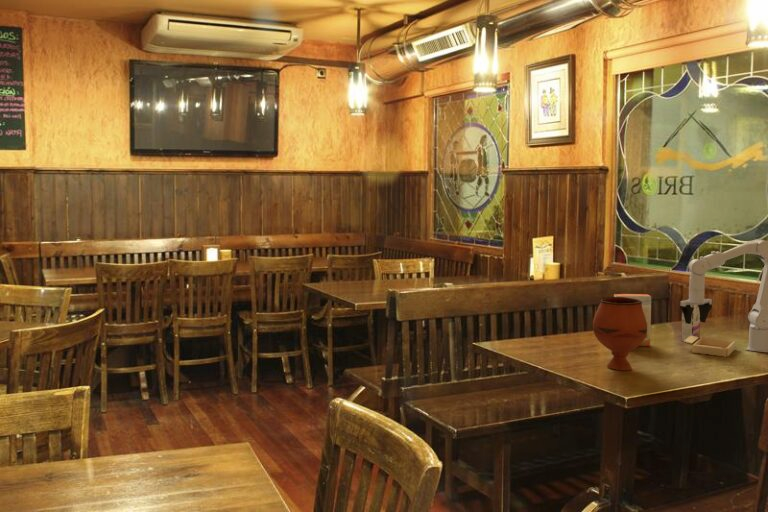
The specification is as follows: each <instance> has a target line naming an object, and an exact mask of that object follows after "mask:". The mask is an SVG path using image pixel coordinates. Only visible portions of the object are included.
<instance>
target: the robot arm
mask: <svg viewBox="0 0 768 512" xmlns="http://www.w3.org/2000/svg"><path fill="white" fill-rule="evenodd" d="M745 254H750V255H755V256H756V257H758V258H759V259H760V260H761V262H763V264H764V267H763V270H762V275H761V280H760V284H759V288H758V293H757V296H756V302H755V303H754V304H753V306H752V308H751V310H750V311H749V313H748V315H747V319H748V321H749V323H750V324H749V330H748V331H749V332H748V334H749V335H748V346H747V347H746V348H745V351H752V352H760V353H766V354H767V353H768V240H764V239H761V238H756V239H753V240H750V241H746V242H743V243H741V244H739V245H738V246H737V245H736V246H735V247H732V248H731V249H728V250H725V251H723V252H721V251H715V250H712V251H711V252H710V254H707V255H704V256H699V258H695V259H692V260H691V261H690V262H689V263H688V266H687V267H688V270H689V286H688V299H685V300H680V305H679V308H680V310H681V313H682V312H683V314H684V318H685V322H686V323H687V324H691V318H692V313H693V310H694V308H693V307H691V306H690V305H698V307H699V312H700V323H706V321H707V317H708V315H709V313H710V311H711V310H712V308H713V302H712V301H713V299H712V298H705V288H706V287H705V286H706V273H707V271H711V270H713V269H716V268H719V267H721V266H723V265H725V263H726V261H728V260H730V259H733V258H736V257H737V258H738V257H739V256H742V255H745ZM694 303H696V304H694Z"/></svg>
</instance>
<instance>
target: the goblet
mask: <svg viewBox="0 0 768 512" xmlns="http://www.w3.org/2000/svg"><path fill="white" fill-rule="evenodd" d="M592 330H593V333H594V336H595V338H596V339H597V341H598V342H599V343H600V344H602V346H603V347H605V348H606V349H608V350H610V351H611V354H612V356H613V357H612V358H611V359H610V360H609V361H608V363H607V364H606V367H609V368H608V369H610V368H612V369H611V370H613V369H616V370H615V371H629V370H632V365H631V364H630V362H629V361H628V360H627V357H628V356H629V352H631V351H633V350H635V349H637V348H638V347H640V346H639V345H640V344H641V343H642V342H643V340H644V339H645V337H646V334H647V322H646V318H645V315H644V312H643V309H642V301H641V300H638V299H633V298H626V297H614V296H607V297H604V298H600V302H599V305H598V307H597V310H596V312H595V314H594V317H593V319H592Z"/></svg>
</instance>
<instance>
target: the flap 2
mask: <svg viewBox="0 0 768 512" xmlns="http://www.w3.org/2000/svg"><path fill="white" fill-rule="evenodd" d="M694 346H699V347H707V348H716V349H722V348H721V347H713V346H704V345H694Z"/></svg>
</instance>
